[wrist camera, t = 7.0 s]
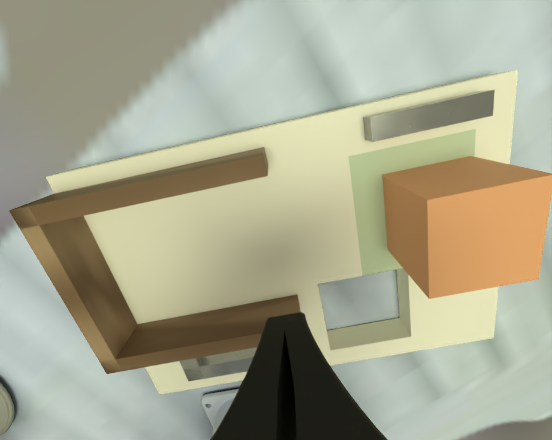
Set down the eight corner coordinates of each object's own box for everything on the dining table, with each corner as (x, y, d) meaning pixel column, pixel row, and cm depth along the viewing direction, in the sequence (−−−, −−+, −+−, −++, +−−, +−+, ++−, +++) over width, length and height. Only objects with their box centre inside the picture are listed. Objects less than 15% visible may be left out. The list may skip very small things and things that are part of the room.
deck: (475, 319, 22) (493, 337, 21) (168, 372, 24) (159, 394, 22) (489, 74, 16) (518, 69, 14) (69, 170, 18) (45, 177, 16)
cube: (467, 234, 18) (538, 279, 13) (387, 250, 18) (428, 299, 13) (470, 155, 16) (554, 174, 11) (381, 174, 16) (427, 200, 11)
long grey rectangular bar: (309, 346, 21) (311, 360, 20) (192, 367, 21) (188, 381, 20) (301, 313, 20) (303, 325, 18) (178, 335, 20) (173, 348, 19)
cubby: (299, 306, 19) (304, 338, 17) (129, 337, 20) (106, 373, 17) (264, 146, 15) (262, 154, 13) (54, 193, 16) (9, 210, 13)
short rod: (476, 115, 15) (493, 115, 14) (364, 139, 15) (372, 142, 14) (477, 91, 15) (494, 89, 13) (362, 117, 15) (370, 117, 14)
